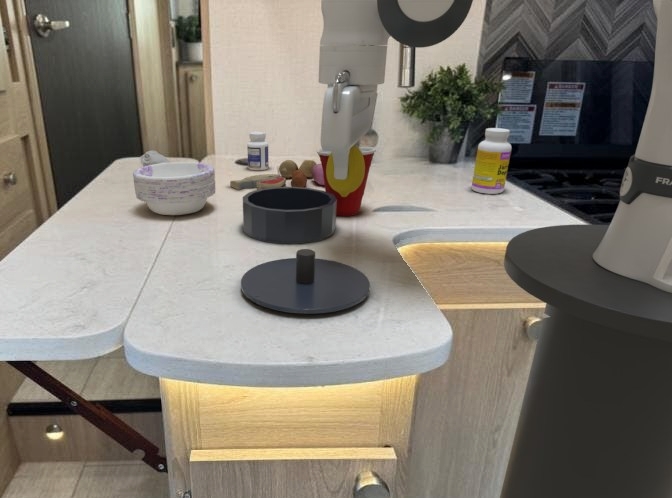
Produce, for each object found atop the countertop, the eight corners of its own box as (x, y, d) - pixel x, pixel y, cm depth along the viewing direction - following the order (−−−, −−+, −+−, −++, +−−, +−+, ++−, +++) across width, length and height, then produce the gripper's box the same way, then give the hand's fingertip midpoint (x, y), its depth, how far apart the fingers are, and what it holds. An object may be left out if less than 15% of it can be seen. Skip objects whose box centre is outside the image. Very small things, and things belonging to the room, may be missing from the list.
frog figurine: (146, 178, 130) (143, 148, 127) (175, 178, 129) (173, 148, 126) (138, 184, 124) (135, 153, 121) (168, 184, 124) (166, 153, 121)
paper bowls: (132, 203, 110) (128, 163, 106) (206, 196, 114) (204, 158, 111) (142, 224, 97) (137, 180, 93) (225, 216, 101) (223, 173, 98)
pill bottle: (261, 165, 142) (260, 130, 139) (272, 169, 139) (272, 133, 135) (243, 168, 140) (243, 132, 136) (255, 171, 136) (254, 135, 132)
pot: (342, 219, 99) (343, 190, 97) (323, 248, 86) (324, 214, 83) (260, 212, 104) (260, 184, 101) (230, 238, 90) (228, 206, 88)
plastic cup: (345, 201, 111) (348, 140, 106) (383, 213, 103) (389, 148, 98) (303, 209, 105) (304, 146, 100) (339, 223, 97) (343, 155, 92)
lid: (377, 272, 77) (380, 237, 74) (357, 327, 62) (360, 285, 60) (264, 260, 81) (264, 226, 79) (221, 307, 67) (219, 268, 64)
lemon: (318, 194, 82) (321, 139, 78) (351, 190, 83) (354, 137, 80) (335, 203, 77) (338, 145, 74) (369, 199, 79) (374, 143, 75)
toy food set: (305, 169, 138) (305, 153, 136) (356, 180, 127) (357, 162, 126) (227, 187, 122) (226, 169, 120) (279, 200, 111) (279, 181, 109)
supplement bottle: (495, 196, 114) (507, 133, 108) (465, 191, 118) (475, 129, 112) (508, 190, 118) (520, 129, 113) (479, 185, 122) (488, 126, 117)
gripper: (363, 74, 63) (355, 191, 69) (384, 66, 81) (376, 161, 87) (310, 73, 65) (307, 188, 71) (342, 66, 82) (337, 158, 88)
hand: (345, 173), depth 79 cm, fingers closed on lemon, 5 cm apart
